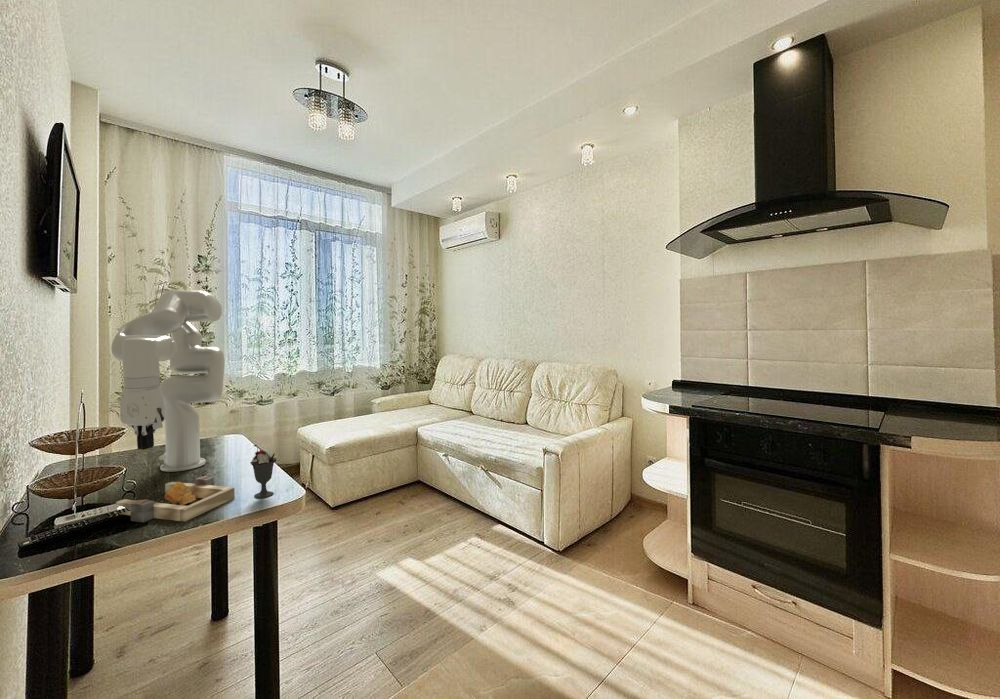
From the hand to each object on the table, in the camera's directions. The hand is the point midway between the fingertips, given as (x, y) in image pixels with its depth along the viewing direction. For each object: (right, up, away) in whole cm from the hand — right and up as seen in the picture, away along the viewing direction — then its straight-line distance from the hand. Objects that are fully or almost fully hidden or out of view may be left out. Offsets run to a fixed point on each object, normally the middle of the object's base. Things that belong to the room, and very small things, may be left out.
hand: (145, 447), depth 116 cm
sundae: (+30, -15, +5) cm, 34 cm away
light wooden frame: (+10, -15, -2) cm, 18 cm away
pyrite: (+11, -15, -2) cm, 19 cm away
